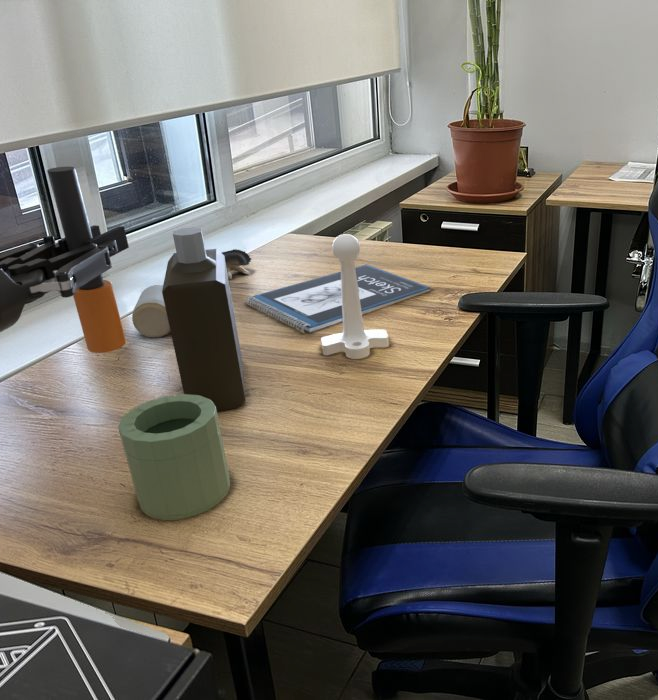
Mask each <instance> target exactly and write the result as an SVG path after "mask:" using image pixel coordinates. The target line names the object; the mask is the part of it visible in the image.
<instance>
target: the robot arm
mask: <svg viewBox="0 0 658 700" xmlns="http://www.w3.org/2000/svg"><path fill="white" fill-rule="evenodd" d="M90 229H91V233H92V237H93V238H92V239H90V240H88V241H85V246H83V247H80V248H77V249H75V250H72V251H70V252H69V250H68V246H67V243H66V239H65V237H63V238H60V239H58V240H57V242H56V240H55V236H54V235H46V236H43V237H42V239H43V244H41V245H39V244H38V243H36V242H30V243H28V244H25V245H22V246H20V247H17V248H15V249H14V248H13V249H12V250H9V251H8V250H7V251H6V252H3V253H0V333H2V332H4V331H6V330H8V329H9V328H11V327H13V326H14V325H16V323H17V322H18V321H19V319H20V318H21V315H22V313H23V310H24V307H25V305H28V304H30V303H33V302H35V301H37V300H39V299H41V298H43V297H44V296H45V295H46V294H49V293H50V292H57V293H58V294H60V296H61V298H71V297H73V295H74V294H75V292H76V291H77V289H79V288H80V287H82V286H83V285H85V284H86V283H88V282H90V281H91V280H93V279H94V278H96V277H98V276H99V275H101V274H102V275H103V274H104V273H106V272H107V271H109V270H110V269H112V267H113V265H112V261H111V257H114V256H116V255H117V254H119V253H121V252H123V251H125V250H127V249H129V248H130V246H129V242H128V237H127V233H126V229H125V226H116V227H114V228H112V229H110V230H107V231H105V232H103V233H101V229H100V225H97V224H96V225H91V226H90Z"/></svg>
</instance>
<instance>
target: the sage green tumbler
mask: <svg viewBox="0 0 658 700" xmlns="http://www.w3.org/2000/svg"><path fill="white" fill-rule="evenodd" d="M218 415H219V414H218V412H217V410H216V406H215V405H214V403H213V402H212V401H211V400H210V399H208V398H205V397H202V396H200V395H188V394H184V393H183V394H181V393H180V394H172V395H166V396H161V397H158V398H154V399H151V400H148V401H145V402H143V403H141V404H139V405H137V406H135V407H133V408H131V409H130V410H129V411H128V412H127V413H126V414H125V415H123V416H122V417H121V419H120V422H119V424H118V426H117V428H118V433H119V436H120V440H121V444H122V446H123V447H122V448H123V451H124V454H125V458H126V461H127V465H128V470H129V473H130V477H131V480H132V484H133V488H134V492H135V495H136V499H137V502H138V503H139V507H140V510H141V511H142V512H143V513H144V515H146V516H148V517H150V518H153V519H157V520H162V521H164V520H165V521H175V520H183V519H188V518H192V517H195V516H197V515H200V514H203V513H204V512H205V513H206V512H207V511H209V510H211V509H212V508H214V507H216V506H217V505H218V504H220V502H221V501H223V500H224V498H225V497H226V496H227V494H228V493H229V491H230V487H231V482H230V479H231V476H230V471H229V465H228V461H227V457H226V451H225V446H224V440H223V436H222V430H221V426H220V421H219V416H218Z"/></svg>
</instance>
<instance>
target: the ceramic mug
mask: <svg viewBox="0 0 658 700" xmlns="http://www.w3.org/2000/svg"><path fill="white" fill-rule="evenodd" d="M162 289H163V284H153V285H151V286H147V287H146V288H144V289H143V290H142V292H141V293H140V295H139V298H138V300H137V301H136V303H135V306H134V308H133V311H132V314H131V315H132V316H131V319H132V320H131V321H132V324H133V327H134V328H135V329H136V331H138V332H139V333H140V334H141V335H143V337H147V338H153V339H155V338H163V337H166V336H167V335H169V334H171V331H170V327H169V322H168V318H167V313H166V308H165V304H164V299H163V294H162Z"/></svg>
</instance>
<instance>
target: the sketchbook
mask: <svg viewBox="0 0 658 700" xmlns="http://www.w3.org/2000/svg"><path fill="white" fill-rule="evenodd" d="M355 270H356V277H357V284H358V291H359V298H360V305H361V312H362V316H363V315H366V314H369V313H371V312H374V311H377V310H380V309H383V308H385V307H388V306H392V305H394V304H397V303H400V302H402V301H406V300H409V299H411V298H414V297H417V296H420V295H422V294H426V293H429V292H431V290H432V289H431V287H430V286H428V285H425V284H422V283H420V282H416V281H413V280H411V279H408V278H406V277H402V276H400V275H397V274H394V273H392V272H388V271H386V270H383V269H380V268H378V267H375V266H372V265H370V264H362V265H359V266H355ZM245 302H246V305H247V306H250V307H252V308H254V309H255V310H258V311H259V312H262V313H264V314H266V315H268V316H269V317H271V318H273V319H276V320H277V321H279V322H281V323H283V324H286V325H288V326H289V327H291V328H293V329H295V330H296V331H299V332H301V333H302V334H306V332H307V333H309V334H312V333H314V332H315V333H316V332H317V331H321V330H323V329H326V328H329V327H332V326H335V325H338V324H340V323H343V314H342V289H341V271H338V272H334V273H330V274H326V275H323V276H320V277H315V278H312V279H309V280H306V281H302V282H298V283H295V284H291V285H288V286H283V287H280V288H277V289H273V290H270V291H266V292H262V293H259V294H255V295H251V296H248V297H247V298H246V301H245Z"/></svg>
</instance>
